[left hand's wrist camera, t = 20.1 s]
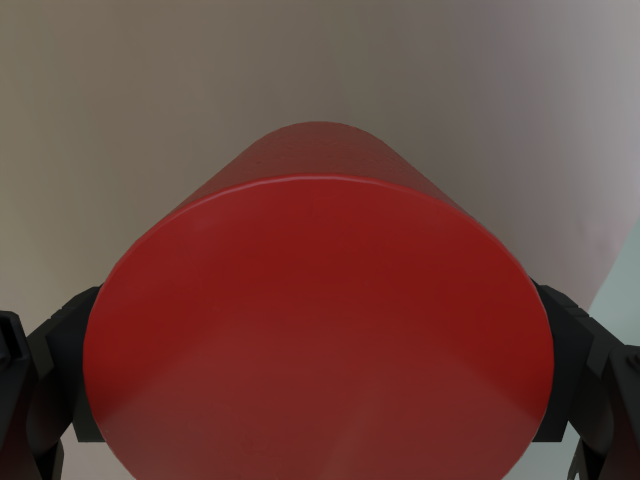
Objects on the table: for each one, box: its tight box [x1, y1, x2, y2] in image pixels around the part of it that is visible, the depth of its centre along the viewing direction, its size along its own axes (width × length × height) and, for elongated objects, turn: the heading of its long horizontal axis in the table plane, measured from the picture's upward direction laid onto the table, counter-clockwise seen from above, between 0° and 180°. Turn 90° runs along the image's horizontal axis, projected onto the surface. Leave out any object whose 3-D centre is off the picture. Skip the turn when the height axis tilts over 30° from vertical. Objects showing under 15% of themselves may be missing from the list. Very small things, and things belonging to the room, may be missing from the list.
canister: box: [83, 122, 554, 480], centre depth 12 cm, size 9×9×10 cm
